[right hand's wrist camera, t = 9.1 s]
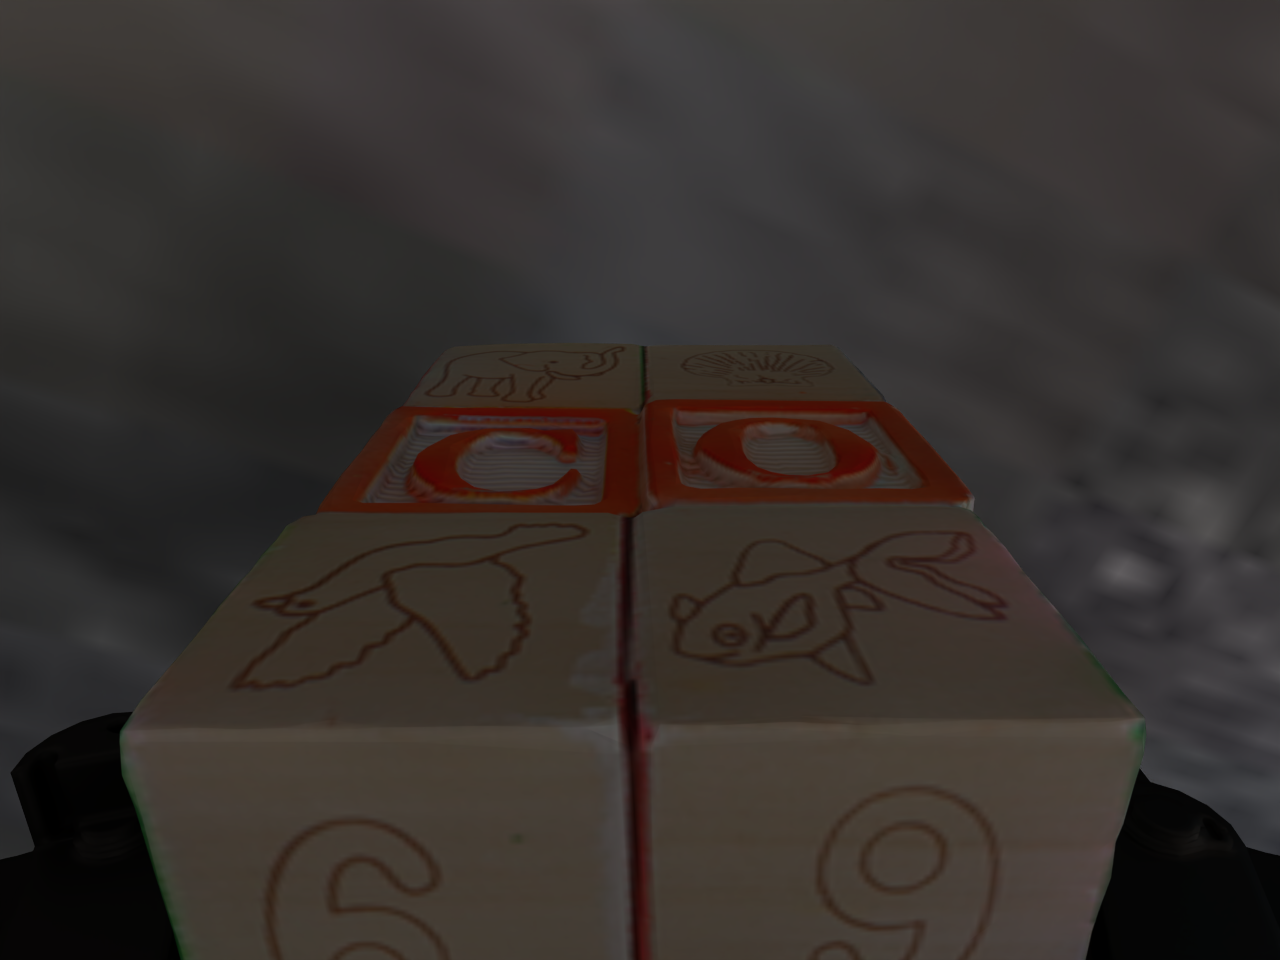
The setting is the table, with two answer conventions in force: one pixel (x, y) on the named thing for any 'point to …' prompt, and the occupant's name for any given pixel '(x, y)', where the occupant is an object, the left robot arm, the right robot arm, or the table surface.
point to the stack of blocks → (636, 689)
